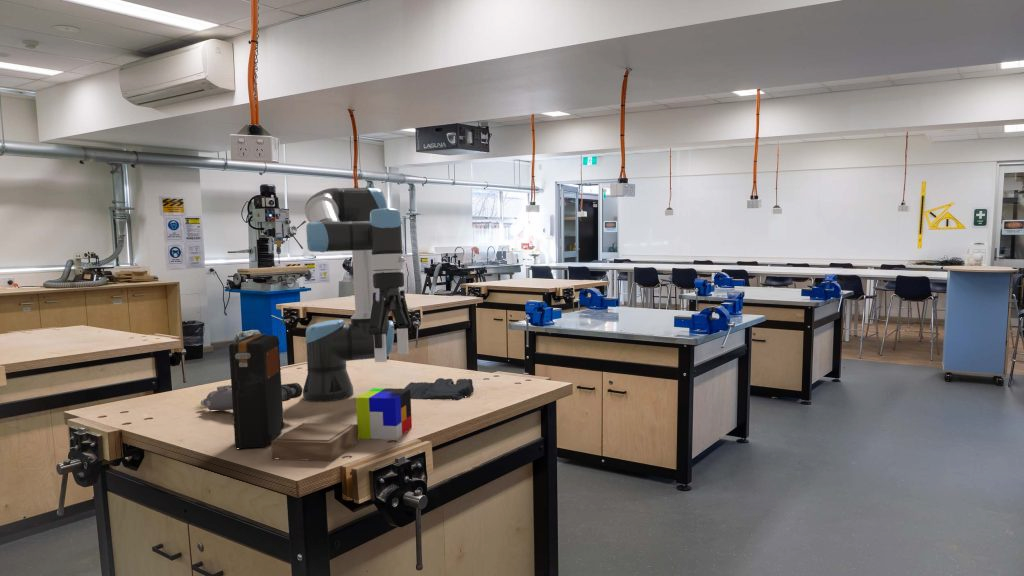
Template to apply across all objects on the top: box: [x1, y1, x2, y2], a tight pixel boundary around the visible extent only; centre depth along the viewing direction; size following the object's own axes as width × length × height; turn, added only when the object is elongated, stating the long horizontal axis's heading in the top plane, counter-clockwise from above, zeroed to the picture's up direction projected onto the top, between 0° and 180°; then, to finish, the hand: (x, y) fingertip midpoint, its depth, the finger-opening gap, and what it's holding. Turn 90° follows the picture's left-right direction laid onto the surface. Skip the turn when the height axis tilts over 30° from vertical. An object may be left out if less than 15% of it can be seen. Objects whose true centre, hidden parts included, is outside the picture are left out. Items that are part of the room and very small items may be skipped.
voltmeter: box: [228, 333, 285, 449], centre depth 153 cm, size 16×9×25 cm, turn 5°
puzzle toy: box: [355, 387, 413, 441], centre depth 156 cm, size 10×10×10 cm
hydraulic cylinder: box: [200, 382, 304, 411], centre depth 178 cm, size 7×37×10 cm, turn 65°
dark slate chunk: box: [403, 377, 475, 401], centre depth 197 cm, size 15×22×5 cm
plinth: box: [270, 422, 360, 462], centre depth 145 cm, size 14×14×4 cm
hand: (392, 357), depth 157 cm, fingers open, 13 cm apart
